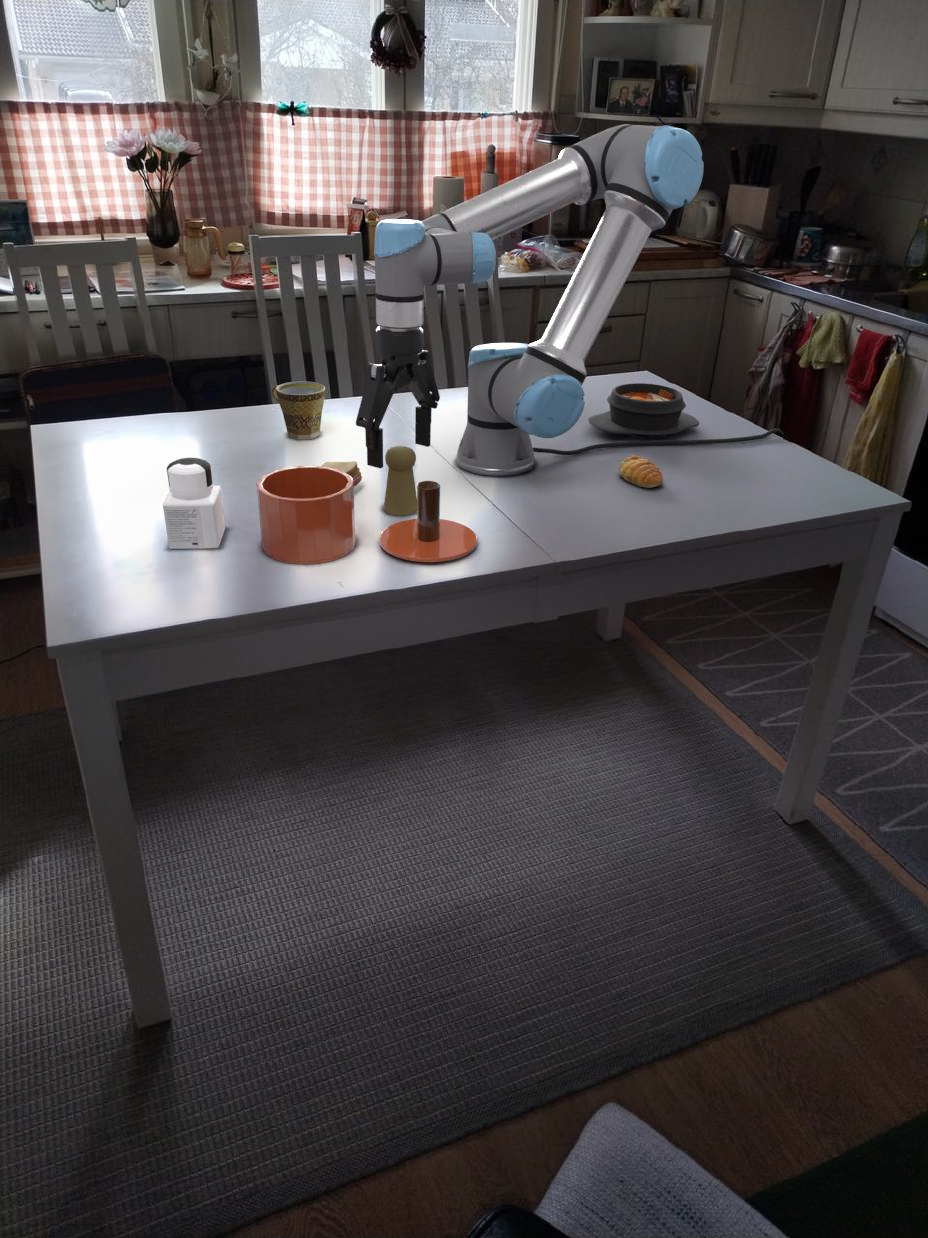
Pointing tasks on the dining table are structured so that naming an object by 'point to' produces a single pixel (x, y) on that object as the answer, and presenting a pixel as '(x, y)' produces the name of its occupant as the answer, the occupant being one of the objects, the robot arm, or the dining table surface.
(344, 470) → the toy sandwich meal
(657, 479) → the pastry
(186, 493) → the container
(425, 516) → the lid
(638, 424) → the casserole
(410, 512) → the olive pawn figure
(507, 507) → the dining table surface
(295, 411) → the ceramic cup
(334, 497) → the pot
